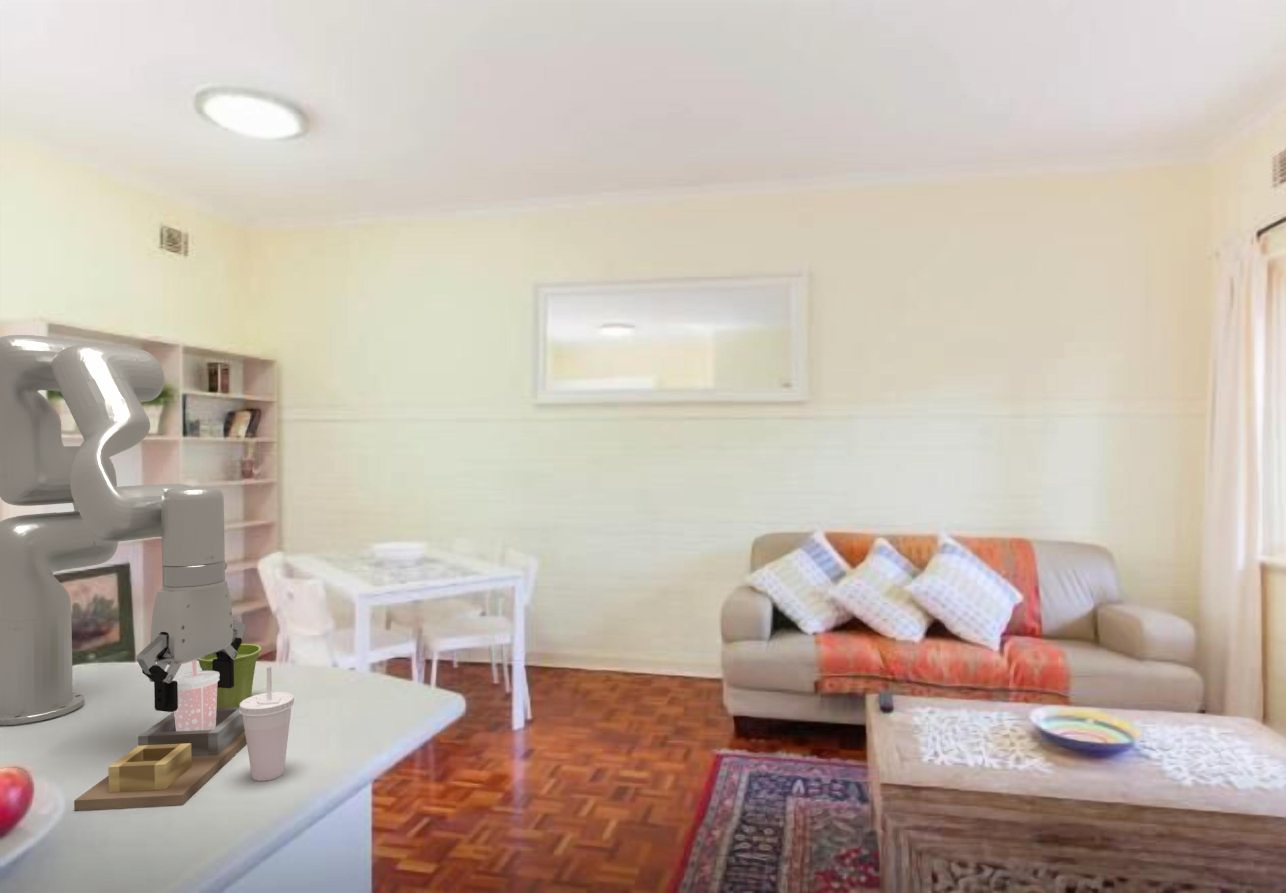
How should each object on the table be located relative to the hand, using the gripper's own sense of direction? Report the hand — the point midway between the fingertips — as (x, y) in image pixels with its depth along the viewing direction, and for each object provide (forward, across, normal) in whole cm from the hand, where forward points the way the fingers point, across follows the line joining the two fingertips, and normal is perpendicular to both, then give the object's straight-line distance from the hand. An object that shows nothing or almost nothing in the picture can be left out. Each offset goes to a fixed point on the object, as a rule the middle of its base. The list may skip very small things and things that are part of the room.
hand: (196, 698), depth 106 cm
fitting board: (+7, +5, +2) cm, 9 cm away
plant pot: (+7, -17, -10) cm, 21 cm away
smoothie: (+7, +4, +15) cm, 18 cm away
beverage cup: (+6, 0, 0) cm, 6 cm away
